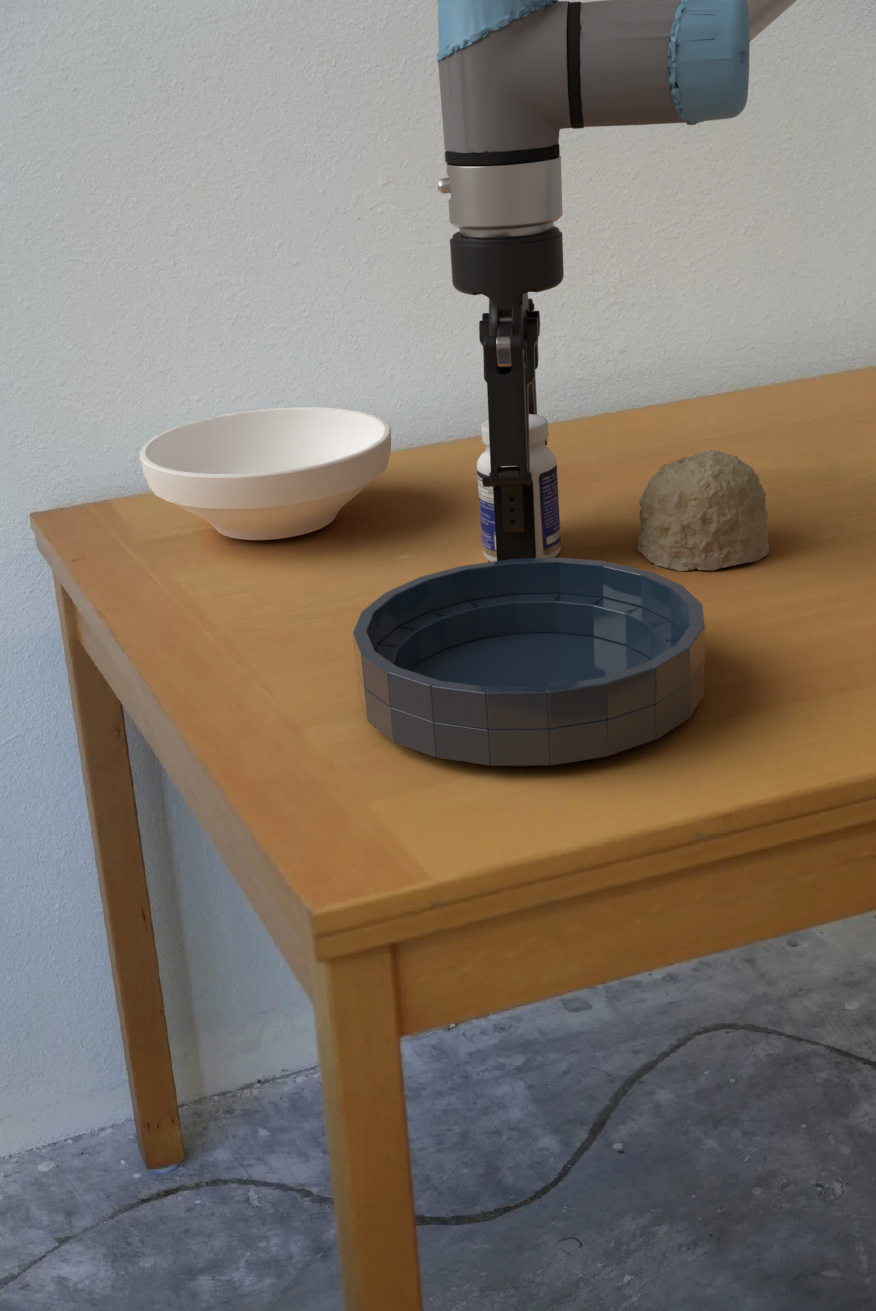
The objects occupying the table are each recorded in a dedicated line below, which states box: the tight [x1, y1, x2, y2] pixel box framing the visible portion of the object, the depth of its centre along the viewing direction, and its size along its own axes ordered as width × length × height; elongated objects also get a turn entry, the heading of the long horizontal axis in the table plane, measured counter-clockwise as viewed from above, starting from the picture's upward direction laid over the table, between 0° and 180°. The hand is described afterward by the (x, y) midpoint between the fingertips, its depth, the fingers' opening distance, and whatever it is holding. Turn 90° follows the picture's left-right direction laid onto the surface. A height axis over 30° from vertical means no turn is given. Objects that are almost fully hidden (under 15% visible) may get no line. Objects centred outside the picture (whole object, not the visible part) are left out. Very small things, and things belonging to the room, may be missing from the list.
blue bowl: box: [352, 557, 706, 768], centre depth 84 cm, size 20×20×5 cm
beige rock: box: [637, 449, 770, 572], centre depth 104 cm, size 9×10×10 cm
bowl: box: [139, 406, 392, 541], centre depth 116 cm, size 20×20×7 cm
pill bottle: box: [476, 414, 562, 562], centre depth 105 cm, size 6×6×10 cm
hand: (520, 551), depth 107 cm, fingers open, 7 cm apart
